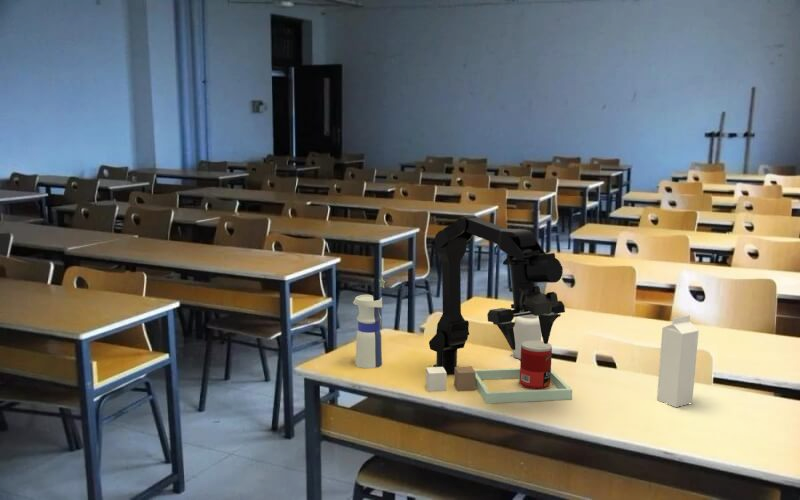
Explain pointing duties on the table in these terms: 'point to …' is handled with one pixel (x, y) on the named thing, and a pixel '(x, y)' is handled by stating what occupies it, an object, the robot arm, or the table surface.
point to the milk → (677, 362)
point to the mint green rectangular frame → (519, 396)
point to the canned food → (535, 364)
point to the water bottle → (369, 331)
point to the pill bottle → (525, 331)
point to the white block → (436, 379)
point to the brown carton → (464, 378)
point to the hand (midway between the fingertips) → (529, 346)
